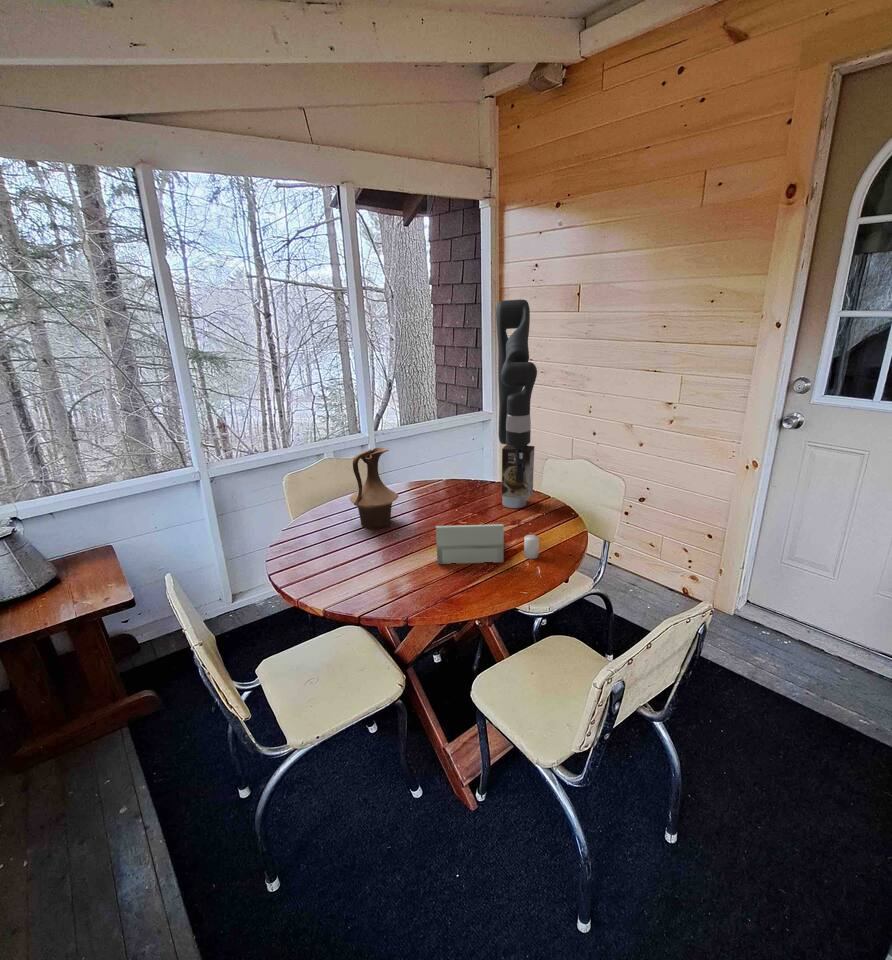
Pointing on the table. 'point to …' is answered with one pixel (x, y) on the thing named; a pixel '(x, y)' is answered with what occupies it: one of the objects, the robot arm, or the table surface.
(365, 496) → the pitcher
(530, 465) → the coffee box
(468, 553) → the mint green corner panel
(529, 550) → the white rounded capsule
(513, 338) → the robot arm
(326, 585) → the table surface
